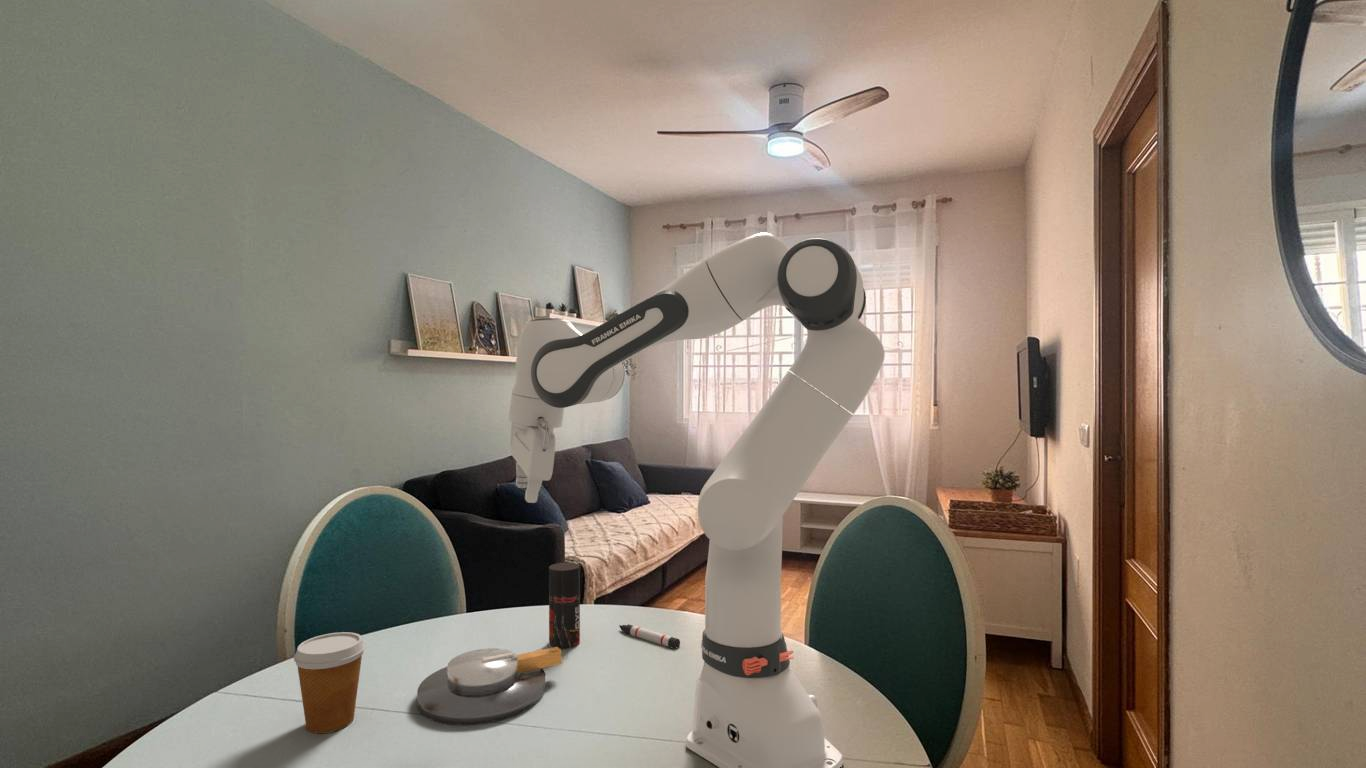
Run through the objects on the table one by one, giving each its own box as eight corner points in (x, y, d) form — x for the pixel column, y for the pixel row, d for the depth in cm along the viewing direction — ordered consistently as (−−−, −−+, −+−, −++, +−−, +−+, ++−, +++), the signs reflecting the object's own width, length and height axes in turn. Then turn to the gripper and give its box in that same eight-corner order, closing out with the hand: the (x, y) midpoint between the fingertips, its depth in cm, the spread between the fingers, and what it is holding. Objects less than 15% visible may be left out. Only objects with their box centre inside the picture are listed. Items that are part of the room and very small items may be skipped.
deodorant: (577, 649, 127) (576, 570, 127) (546, 649, 127) (546, 570, 127) (582, 637, 133) (582, 562, 133) (552, 637, 133) (552, 562, 133)
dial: (454, 701, 101) (454, 679, 101) (441, 674, 111) (441, 654, 111) (570, 675, 110) (570, 654, 110) (549, 652, 120) (549, 633, 120)
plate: (562, 704, 105) (562, 689, 105) (428, 738, 95) (428, 722, 95) (525, 659, 122) (525, 647, 122) (408, 684, 112) (408, 670, 112)
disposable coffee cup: (316, 746, 93) (316, 660, 93) (280, 728, 98) (280, 646, 98) (378, 717, 101) (378, 638, 101) (342, 702, 106) (342, 626, 106)
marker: (680, 647, 129) (680, 637, 129) (673, 650, 127) (673, 640, 127) (622, 630, 138) (622, 620, 138) (615, 632, 136) (615, 623, 137)
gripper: (569, 425, 103) (557, 512, 104) (543, 406, 122) (533, 480, 123) (528, 421, 101) (516, 510, 101) (508, 403, 119) (498, 478, 120)
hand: (525, 494), depth 112 cm, fingers open, 8 cm apart
